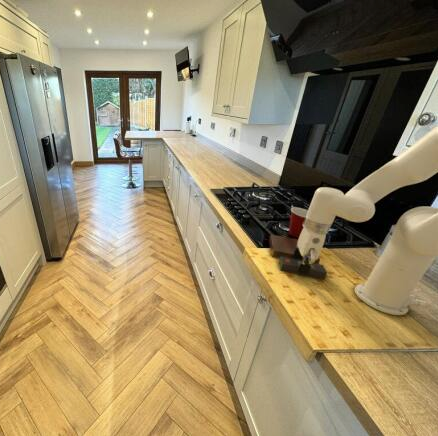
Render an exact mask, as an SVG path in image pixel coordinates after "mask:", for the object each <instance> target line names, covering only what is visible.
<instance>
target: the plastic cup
mask: <svg viewBox="0 0 438 436" xmlns="http://www.w3.org/2000/svg"><path fill="white" fill-rule="evenodd" d="M307 212H308V209H305V208H301V207H291V208H290V220H289V228H288V234H289V236H292V237H293V238H299V236H300V234H301V232H302V230H303V228H304V227H303V222H304V220H305V217H306V215H307Z"/></svg>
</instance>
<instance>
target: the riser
mask: <svg viewBox="0 0 438 436" xmlns="http://www.w3.org/2000/svg"><path fill="white" fill-rule="evenodd" d="M298 239H299V238H298ZM298 239H297V238H294V237H293V238H292V237H287V236H281V235H277V234H276V235H275V234H270V235H269V237H268V245H269V249H270V253H271V257H273V258H277V259H280V257H286V258H291V259H296V260H301V261H302V260H303V258H302V259H298V258H294V257H293V254H294V251H295V249H296V246H297V243H298ZM306 256H309V255H308V254H306ZM306 260H309V258H306V259H305V261H306ZM320 262H321V258H320V256H319V257H318V259H317V260H315V262H314V263H315V264H320Z"/></svg>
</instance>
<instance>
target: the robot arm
mask: <svg viewBox="0 0 438 436" xmlns="http://www.w3.org/2000/svg"><path fill="white" fill-rule="evenodd" d="M437 173H438V124H437V125H436V126H435V127H433V128H432V129H431V130H429V131H428V132H427V133H426V134H424V135H423V136H422V137H420V138H419V139H418V140H417V141H415V142H414V143H412V145H410V146H409V147H407V148H406V149H405V150H403V151H402V152H400V154H398V155H397V156H395V158H393V159H391V160H390V161H388V162H387V163H385V164H384V165H383V166H381V167H379V169H377V170H375V171H373V172H372V173H370V174H369V175H368V176H366V177H365V178H364V179H362V180H361V181H359V182H358V183H357V184H356V185H354V186H353V187H352V188H351V189H349V191H347V192H346V193H344V192H343V191H342V190H340V189H337V188H333V187H329V186H322V187H318V188H317V189H316V190H315V191H314V194H313V197H312V199H311V202H310V204H309V207H308V209H307V210H308V212H307V215H306V217H305V220H304V222H303V227H304V228H303V230H302V232H301V234H300V236H299V237H298V243H297V246H296V249H295V251H294V254H293V257H294V258H298V259H302V258H303V260H302V263H300V265H299V268H298V270H297V272H298V273H302V274H306V275H307V274H308V273H309V270H310V268H311V266H312V265H313V264H314V262H315V260H317V259H318V257H319V258H320V255H321V252H322V250H323V247H324V244H325V241H326V237H327V234H328V233H329V232H330V230H331V227H332V225H333V223H334V221H335V218H336V217H339V218H341V219H344V220H347V221H349V222H354V223H363V222H364V223H365V222H367V221H369V220H370V219H372V218H373V216H374V215H375V212H376V206H375V204H376V203H377V202H379V201H380V200H381V199H383V198H384V197H386V196H387V195H389V194H390V193H392V192H394V191H396V190H398V189H400V188H403V187H406V186H411V185H415V184H416V185H417V184H418V183H422V182H424V181H427V180H428V179H430V178H431V177H433V176H434V175H436V174H437ZM306 254H308V255H309V256H306ZM306 258H309V260H306V261H305V259H306ZM436 258H438V207H434V206H423V205H422V206H416V207H414V208H411V209H408V210H406V211H405V212H404V213H403V214H402V215H401V216H400V217H399V219H398V220H397V222H396V224H395V227H394V230H393V231H392V234H391V236H390V238H389V240H388V242H387V244H386V246H385V248H384V249H383V251H382V253H381V254H380V257H379V259H378V260H377V262H376V264H375V265H374V267H373V268H372V270H371V272H370V274H369V276H368V278H367V279H366V281H365V283H359V284H357V285H355V288H354V293H355V295H356V296H357V297H358V299H360V300H361V301H362V302H363V303H365V304H366V305H367V306H369V307H371V308H373V309H375V310H377V311H380V312H382V313H385V314H388V315H393V316H404V315H406V314H407V313H408V312H409V309H410V308H409V306H415V307H420V308H426V307H427V306H428V305H427V304H428V303H427V301H425V300H421V299H417V298H416V296H415V295H414V294H412V293H413V291H414V290H415V288H416V287H417V286H418V284H419V282H420V281H421V279H422V278H423V277H424V275H425V274H426V272H427V271H428V270H429V268H430V267H431V265H432V264H433V262H434V260H435V259H436Z"/></svg>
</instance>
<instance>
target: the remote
mask: <svg viewBox="0 0 438 436" xmlns="http://www.w3.org/2000/svg"><path fill="white" fill-rule="evenodd" d="M300 263H302V261H301V260H296V259H291V258H286V257H280V258H279V260H278V265H279V270H280V271H282V272H286V273H291V274H295V275H300V276H305V277H310V278H313V279H318V280H324V281H325V278H326V277H327V275H328V272H327V270H326V268H325V266H324V264H320V263H319V264H315V263H314V264H313V265H312V266H311V268H310V270H309V273H308V274H307V275H306V274H302V273H298V272H297V270H298V268H299V265H300Z"/></svg>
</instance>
